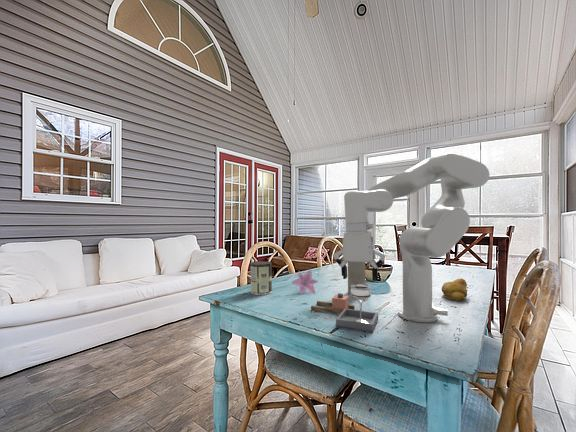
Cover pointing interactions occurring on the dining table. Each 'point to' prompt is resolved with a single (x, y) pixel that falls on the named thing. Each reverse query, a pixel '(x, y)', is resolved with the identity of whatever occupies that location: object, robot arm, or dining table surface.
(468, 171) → the robot arm
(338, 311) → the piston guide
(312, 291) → the lily
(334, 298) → the piston block
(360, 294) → the wineglass
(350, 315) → the tray
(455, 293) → the bread roll
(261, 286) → the coffee can
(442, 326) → the dining table surface
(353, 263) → the thermos bottle
